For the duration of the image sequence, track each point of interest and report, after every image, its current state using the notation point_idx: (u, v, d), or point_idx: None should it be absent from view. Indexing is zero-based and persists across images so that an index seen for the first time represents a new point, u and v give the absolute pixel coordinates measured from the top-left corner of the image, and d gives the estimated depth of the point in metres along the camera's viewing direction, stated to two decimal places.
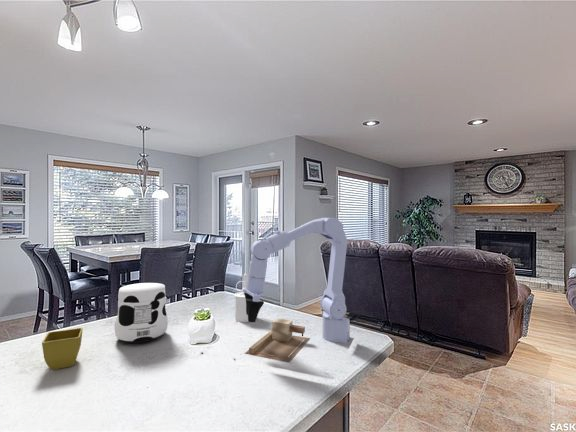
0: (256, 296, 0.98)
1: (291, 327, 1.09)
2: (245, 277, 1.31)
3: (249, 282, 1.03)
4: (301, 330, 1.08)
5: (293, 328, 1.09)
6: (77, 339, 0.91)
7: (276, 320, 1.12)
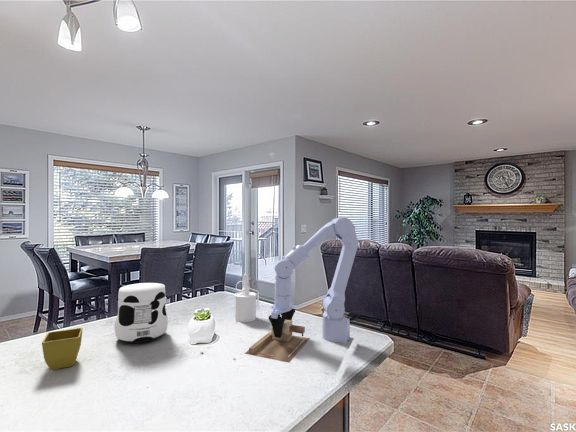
0: (273, 313, 1.05)
1: (291, 327, 1.09)
2: (245, 277, 1.31)
3: None
4: (301, 330, 1.08)
5: (293, 328, 1.09)
6: (77, 339, 0.91)
7: None
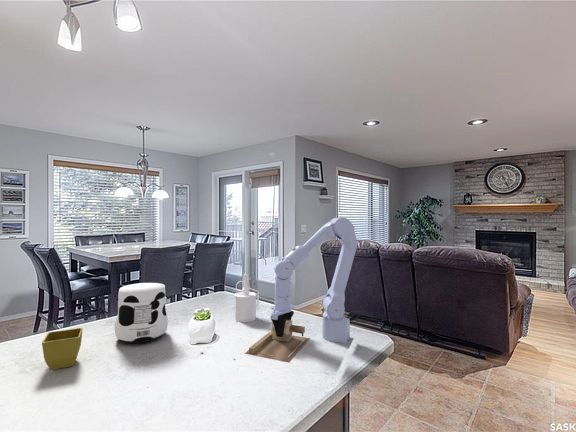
0: (273, 314, 1.05)
1: (291, 327, 1.09)
2: (245, 277, 1.31)
3: None
4: (301, 330, 1.08)
5: (293, 328, 1.09)
6: (77, 339, 0.91)
7: None
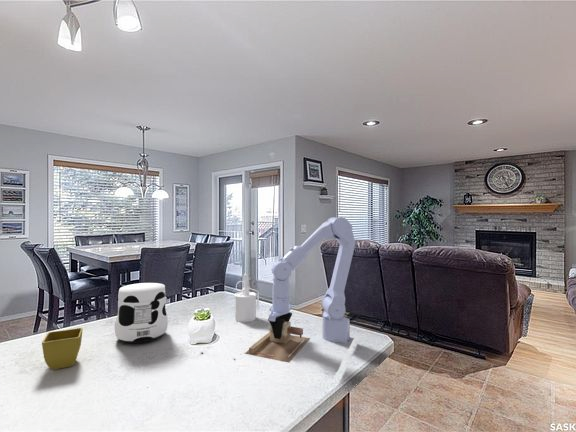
0: (271, 316, 1.03)
1: (289, 329, 1.07)
2: (245, 277, 1.31)
3: (272, 301, 1.09)
4: (299, 332, 1.06)
5: (291, 330, 1.07)
6: (77, 339, 0.91)
7: None
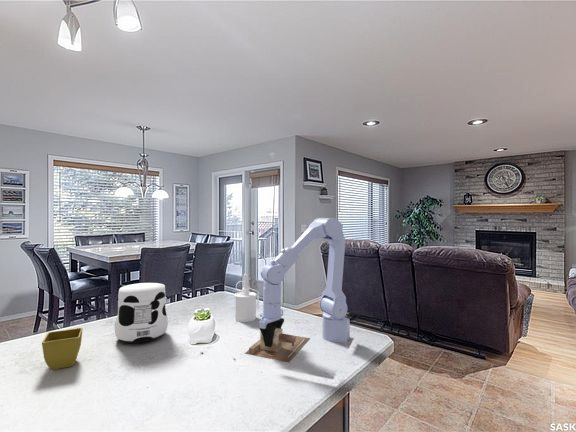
0: (261, 323, 0.96)
1: (281, 336, 1.01)
2: (245, 277, 1.31)
3: (263, 307, 1.02)
4: (291, 339, 0.99)
5: (283, 337, 1.00)
6: (77, 339, 0.91)
7: None
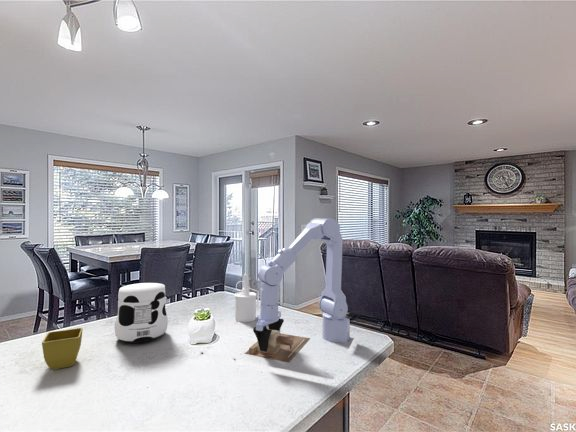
0: (258, 325, 0.94)
1: (278, 338, 0.99)
2: (245, 277, 1.31)
3: (260, 309, 1.00)
4: (289, 342, 0.97)
5: (280, 340, 0.99)
6: (77, 339, 0.91)
7: None
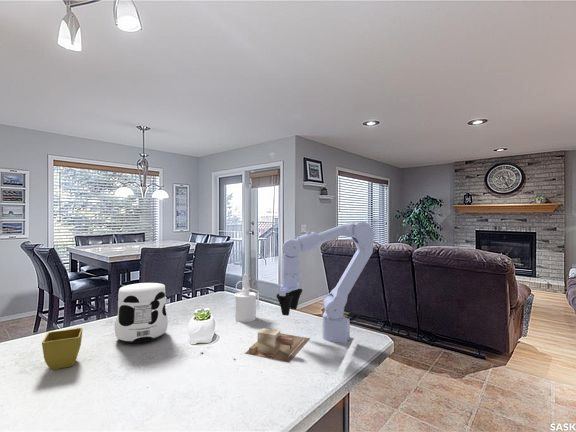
0: (281, 291, 1.06)
1: (278, 338, 0.99)
2: (245, 277, 1.31)
3: (282, 278, 1.12)
4: (289, 342, 0.97)
5: (280, 340, 0.99)
6: (77, 339, 0.91)
7: (262, 330, 1.02)
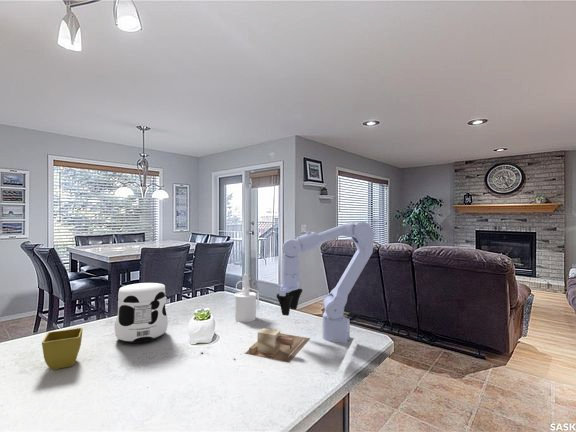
0: (281, 291, 1.06)
1: (278, 338, 0.99)
2: (245, 277, 1.31)
3: (282, 278, 1.12)
4: (289, 342, 0.97)
5: (280, 340, 0.99)
6: (77, 339, 0.91)
7: (262, 330, 1.02)
